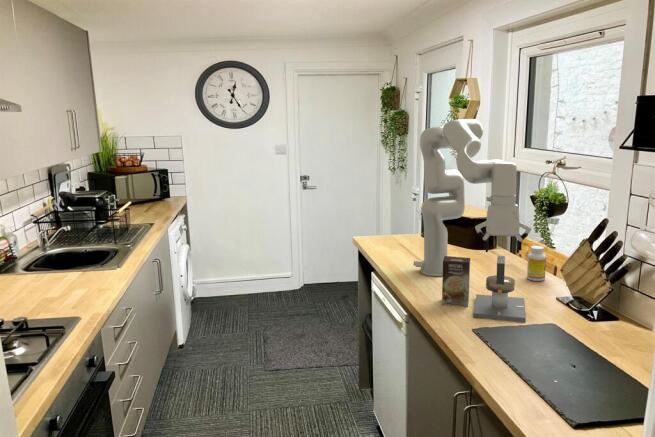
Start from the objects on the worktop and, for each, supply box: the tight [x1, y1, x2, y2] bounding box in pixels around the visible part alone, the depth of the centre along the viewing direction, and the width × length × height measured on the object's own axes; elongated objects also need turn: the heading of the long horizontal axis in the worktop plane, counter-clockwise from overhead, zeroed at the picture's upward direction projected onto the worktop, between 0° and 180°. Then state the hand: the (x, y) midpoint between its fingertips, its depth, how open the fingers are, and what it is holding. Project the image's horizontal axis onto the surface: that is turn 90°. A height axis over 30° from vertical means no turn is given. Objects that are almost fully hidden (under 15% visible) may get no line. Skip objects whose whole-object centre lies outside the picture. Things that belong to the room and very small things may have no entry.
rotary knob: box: [485, 255, 516, 294], centre depth 170 cm, size 12×9×10 cm
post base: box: [472, 291, 527, 323], centre depth 173 cm, size 16×18×7 cm
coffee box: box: [441, 255, 471, 308], centre depth 180 cm, size 9×6×16 cm
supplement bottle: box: [526, 245, 547, 282], centre depth 202 cm, size 7×7×13 cm
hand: (502, 251), depth 169 cm, fingers open, 9 cm apart
